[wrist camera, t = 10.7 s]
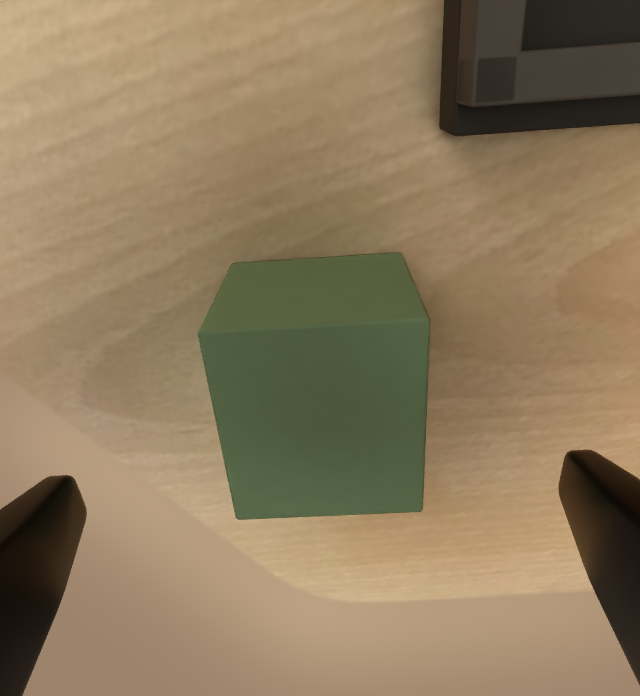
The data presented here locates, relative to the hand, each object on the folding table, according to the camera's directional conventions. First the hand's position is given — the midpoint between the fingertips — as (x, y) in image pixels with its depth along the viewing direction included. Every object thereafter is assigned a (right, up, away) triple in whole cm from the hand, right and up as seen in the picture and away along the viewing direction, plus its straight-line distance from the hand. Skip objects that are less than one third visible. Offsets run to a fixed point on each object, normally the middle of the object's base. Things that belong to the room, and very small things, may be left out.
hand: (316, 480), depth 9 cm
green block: (0, +3, +5) cm, 6 cm away
